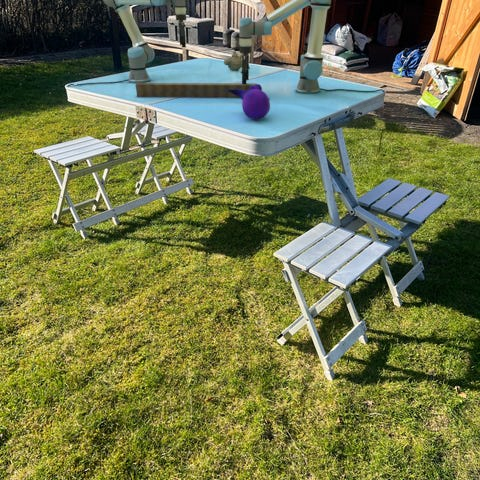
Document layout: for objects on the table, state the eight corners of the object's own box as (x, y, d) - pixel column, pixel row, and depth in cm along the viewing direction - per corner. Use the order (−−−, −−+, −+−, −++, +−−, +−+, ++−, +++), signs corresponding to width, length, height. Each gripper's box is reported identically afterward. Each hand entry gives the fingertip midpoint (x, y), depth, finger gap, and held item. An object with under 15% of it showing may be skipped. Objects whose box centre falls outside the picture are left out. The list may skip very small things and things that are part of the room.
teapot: (227, 73, 361) (227, 53, 353) (221, 70, 369) (220, 51, 362) (250, 70, 370) (250, 50, 362) (243, 68, 378) (242, 49, 371)
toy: (252, 108, 261) (269, 126, 240) (224, 103, 254) (239, 121, 233) (259, 81, 253) (278, 97, 232) (231, 75, 246) (247, 91, 225)
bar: (137, 96, 294) (135, 84, 290) (139, 95, 299) (138, 82, 295) (255, 97, 286) (255, 85, 282) (256, 95, 290) (256, 83, 286)
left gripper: (188, 15, 311) (190, 48, 322) (184, 12, 332) (185, 43, 342) (177, 15, 309) (179, 48, 320) (173, 12, 330) (176, 44, 341)
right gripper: (249, 48, 262) (249, 86, 273) (253, 43, 284) (253, 78, 294) (236, 48, 263) (237, 86, 274) (241, 43, 284) (241, 78, 295)
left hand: (182, 46), depth 331 cm, fingers open, 13 cm apart
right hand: (245, 82), depth 284 cm, fingers open, 13 cm apart
